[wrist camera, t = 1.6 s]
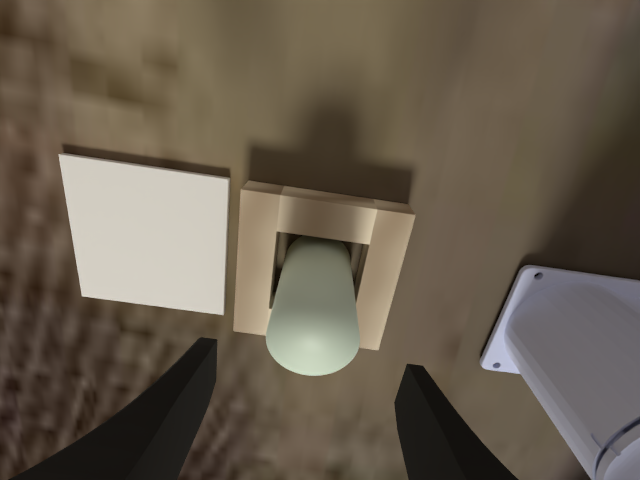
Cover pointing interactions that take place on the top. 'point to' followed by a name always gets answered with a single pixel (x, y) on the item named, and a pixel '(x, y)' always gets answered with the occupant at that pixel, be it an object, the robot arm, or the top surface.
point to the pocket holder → (325, 222)
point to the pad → (148, 233)
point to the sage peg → (314, 309)
